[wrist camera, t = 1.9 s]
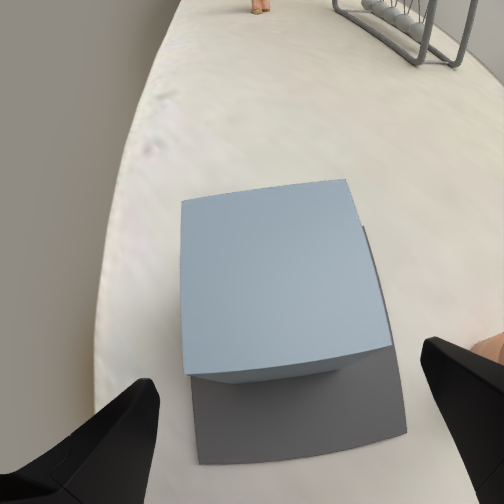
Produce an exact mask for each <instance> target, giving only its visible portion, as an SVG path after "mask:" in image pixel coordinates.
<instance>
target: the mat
mask: <svg viewBox="0 0 504 504" xmlns="http://www.w3.org/2000/svg"><path fill="white" fill-rule="evenodd" d="M362 228H363V232H364V235H365V238H366V241H367V245H368V248H369V252H370V255H371V259H372V262H373V266H374V269H375V273H376V277H377V281H378V285H379V289H380V293H381V297H382V301H383V305H384V309H385V314H386V318H387V323H388V327H389V332H390V337H391V342H392V345H391V346H389V347H387V348H385V349H383V350H381V351H379V352H377V353H375V354H373V355H371V356H369V357H367V358H364V359H362V360H360V361H358V362H356V363H354V364H351V365H349V366H347V367H344V368H342V369H339V370H334V371H328V372H323V373H317V374H311V375H304V376H298V377H291V378H284V379H276V380H268V381H259V382H249V383H238V384H228V383H223V382H218V381H212V380H207V379H203V378H198V377H193V376H191V387H192V400H193V411H194V422H195V432H196V441H197V450H198V459H199V464H243V463H259V462H270V461H280V460H288V459H296V458H303V457H310V456H316V455H321V454H327V453H332V452H337V451H342V450H347V449H351V448H355V447H359V446H364V445H367V444H371V443H375V442H379V441H382V440H386V439H389V438H393V437H396V436H399V435H402V434H405V433H407V426H406V417H405V408H404V401H403V394H402V387H401V380H400V374H399V368H398V362H397V357H396V351H395V346H394V341H393V336H392V331H391V327H390V322H389V318H388V313H387V309H386V305H385V300H384V296H383V292H382V288H381V284H380V281H379V277H378V273H377V269H376V266H375V262H374V259H373V255H372V252H371V248H370V245H369V242H368V238H367V235H366V232H365V229H364V226H362Z"/></svg>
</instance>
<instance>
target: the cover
mask: <svg viewBox="0 0 504 504" xmlns="http://www.w3.org/2000/svg"><path fill="white" fill-rule="evenodd" d="M180 286H181V328H182V352H183V370H184V375H189V376H193V377H198V378H203V379H207V380H212V381H218V382H223V383H228V384H238V383H249V382H259V381H268V380H276V379H284V378H291V377H298V376H304V375H311V374H317V373H323V372H328V371H334V370H339V369H342V368H344V367H347V366H349V365H351V364H354V363H356V362H358V361H360V360H362V359H364V358H367V357H369V356H371V355H373V354H375V353H377V352H379V351H381V350H383V349H385V348H387V347H389V346H391V345H392V342H391V337H390V332H389V327H388V323H387V318H386V314H385V309H384V305H383V301H382V297H381V293H380V289H379V285H378V281H377V277H376V273H375V269H374V266H373V262H372V259H371V255H370V252H369V248H368V245H367V241H366V238H365V235H364V232H363V228H362V225H361V222H360V219H359V216H358V213H357V210H356V207H355V204H354V201H353V198H352V195H351V192H350V189H349V187H348V184H347V181H346V179H339V180H329V181H319V182H310V183H301V184H293V185H285V186H277V187H269V188H261V189H254V190H247V191H240V192H233V193H227V194H220V195H214V196H208V197H202V198H196V199H190V200H184V201H182V204H181V247H180Z"/></svg>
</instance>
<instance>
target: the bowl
mask: <svg viewBox="0 0 504 504" xmlns="http://www.w3.org/2000/svg"><path fill="white" fill-rule="evenodd" d="M470 351H471V352H473V353H476V354H478V355H480V356H483V357H485V358H487V359H490V360H492V361H495V362H497V363H499V364H502V365H504V332H502V333H500V334H498V335H495V336H493V337H490V338H488V339H486V340H483V341H481V342H478V343H477V344H475V345H474V346H473V347H472V348H471V350H470Z"/></svg>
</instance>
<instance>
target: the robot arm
mask: <svg viewBox="0 0 504 504" xmlns="http://www.w3.org/2000/svg"><path fill="white" fill-rule="evenodd" d="M420 362H421V366H422V368H423V371H424V373H425V376H426V379H427V381H428V384H429V387H430V389H431V392H432V395H433V397H434V400H435V402H436V404H437V406H438V408H439V410H440V412H441V414H442V416H443V418H444V420H445V422H446V425H447V427H448V429H449V431H450V433H451V435H452V437H453V440H454V442H455V444H456V446H457V449H458V451H459V453H460V455H461V458H462V460H463V462H464V465H465V467H466V470H467V472H468V475H469V477H470V480H471V482H472V485H473V487H474V490H475V492H476V496H477V498H478V501H479V504H504V365H502V364H499V363H497V362H495V361H492V360H490V359H487V358H485V357H483V356H480V355H478V354H476V353H473V352H471V351H469V350H466V349H464V348H462V347H459V346H457V345H455V344H452V343H450V342H448V341H445V340H443V339H441V338H438V337H431V338H427V339H426V340H425V341H424V343H423V348H422V353H421V358H420ZM159 408H160V397H159V394H158V392H157V390H156V387H155V385H154V383H153V381H152V380H151V379H150V378H140V379H138V380H137V381H135V382H134V383H133V384H132V385H131V386H129V387H128V388H127V389H126V390H124V391H123V392H122V393H121V394H120V395H118V396H117V397H116V398H115V399H114V400H112V401H111V402H110V403H109V404H107V405H106V406H105V407H104V408H103V409H101V410H100V411H99V412H98V413H96V414H95V415H94V416H93V417H92V418H90V419H89V420H88V421H86V422H85V423H84V424H83V425H81V426H80V427H79V428H78V429H76V430H75V431H74V432H73V433H71V435H70V436H68V437H66V438H65V439H64V440H63V441H61V442H60V443H59V444H57V445H56V446H55V447H53V448H52V449H50V450H49V451H47V452H46V453H45V454H43V455H41V456H40V457H38V458H37V459H35V460H33V461H32V462H30V463H29V464H27V465H26V466H24V467H22V468H20V469H19V470H17V471H15V472H12V473H9V474H0V504H144V498H145V493H146V488H147V483H148V478H149V473H150V468H151V463H152V458H153V453H154V448H155V444H156V438H157V428H158V417H159Z"/></svg>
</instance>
